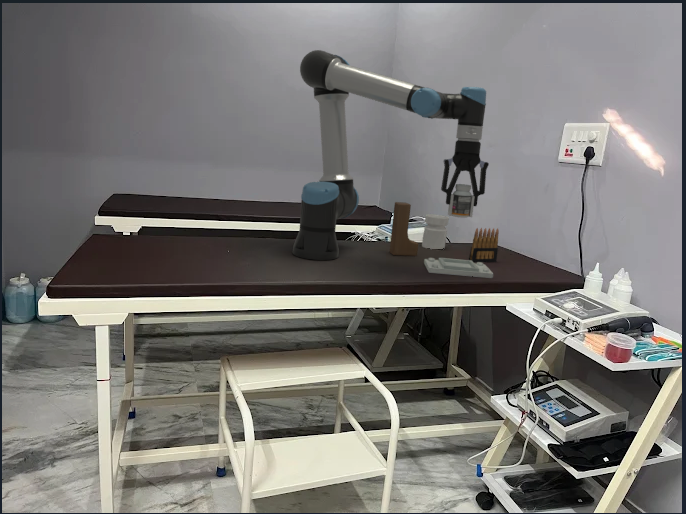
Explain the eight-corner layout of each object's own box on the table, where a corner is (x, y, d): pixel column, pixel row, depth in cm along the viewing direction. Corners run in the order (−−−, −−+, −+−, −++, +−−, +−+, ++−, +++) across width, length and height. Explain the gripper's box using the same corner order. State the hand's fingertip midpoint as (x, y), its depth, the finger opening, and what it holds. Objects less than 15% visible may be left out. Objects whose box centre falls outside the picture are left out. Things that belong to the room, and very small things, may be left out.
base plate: (428, 272, 172) (429, 264, 172) (423, 263, 184) (424, 255, 184) (492, 278, 172) (493, 270, 172) (483, 268, 184) (485, 261, 184)
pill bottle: (448, 214, 176) (451, 183, 174) (465, 215, 177) (469, 184, 175) (453, 217, 171) (456, 185, 169) (471, 218, 171) (475, 186, 169)
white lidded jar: (417, 245, 213) (421, 214, 210) (435, 244, 217) (439, 214, 214) (430, 250, 206) (434, 218, 203) (449, 249, 210) (453, 218, 207)
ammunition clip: (493, 260, 198) (498, 227, 195) (496, 262, 196) (501, 228, 193) (468, 261, 193) (473, 227, 191) (471, 262, 192) (476, 228, 189)
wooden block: (412, 253, 198) (418, 203, 194) (417, 256, 194) (423, 205, 190) (388, 252, 196) (394, 201, 192) (393, 255, 192) (398, 203, 187)
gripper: (439, 138, 165) (431, 215, 170) (502, 142, 165) (492, 219, 170) (436, 138, 172) (428, 212, 178) (496, 142, 172) (487, 216, 177)
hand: (459, 215), depth 174 cm, fingers closed on pill bottle, 6 cm apart
